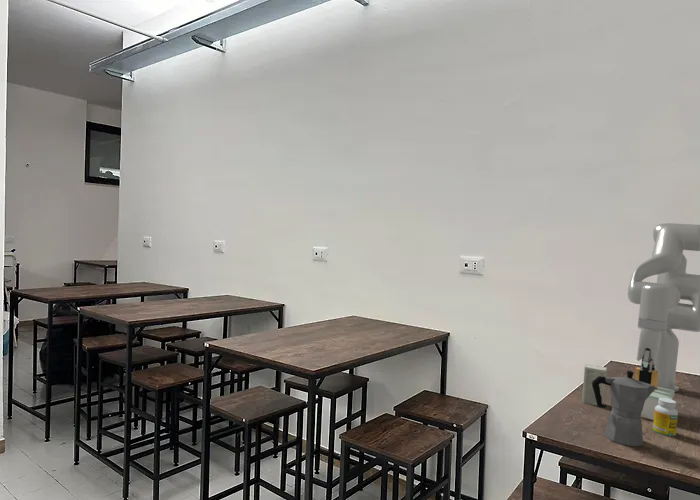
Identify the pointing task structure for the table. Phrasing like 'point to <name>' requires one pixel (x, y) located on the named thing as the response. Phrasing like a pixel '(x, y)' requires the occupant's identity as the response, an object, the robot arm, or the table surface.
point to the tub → (649, 408)
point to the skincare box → (590, 375)
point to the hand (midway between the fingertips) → (646, 381)
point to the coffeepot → (624, 407)
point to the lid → (654, 381)
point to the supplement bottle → (665, 417)
